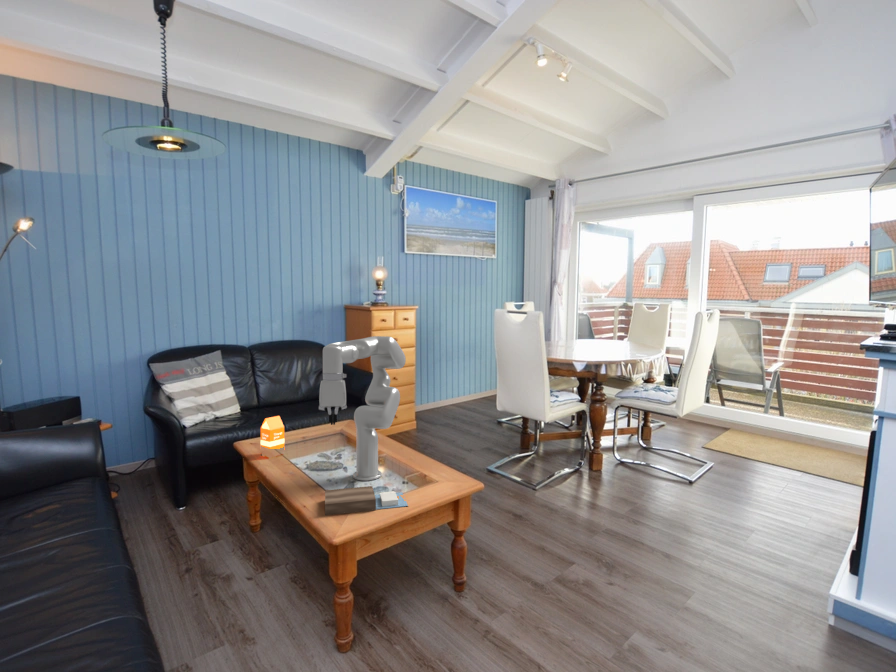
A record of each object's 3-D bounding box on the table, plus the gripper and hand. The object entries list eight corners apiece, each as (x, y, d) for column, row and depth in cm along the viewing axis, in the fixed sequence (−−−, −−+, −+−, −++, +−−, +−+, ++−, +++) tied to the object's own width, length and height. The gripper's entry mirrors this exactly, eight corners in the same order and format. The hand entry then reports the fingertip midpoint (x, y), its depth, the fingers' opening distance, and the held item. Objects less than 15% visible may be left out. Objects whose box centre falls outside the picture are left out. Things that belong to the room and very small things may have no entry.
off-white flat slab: (395, 491, 180) (395, 496, 180) (379, 492, 178) (379, 497, 178) (398, 499, 171) (398, 505, 171) (382, 501, 169) (382, 506, 169)
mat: (372, 495, 181) (372, 494, 181) (402, 492, 184) (402, 492, 184) (375, 509, 167) (375, 508, 167) (407, 506, 170) (407, 505, 170)
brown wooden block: (325, 500, 176) (325, 490, 176) (372, 496, 180) (372, 486, 180) (325, 515, 162) (324, 504, 162) (375, 510, 167) (375, 499, 167)
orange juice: (284, 454, 237) (284, 416, 236) (270, 458, 229) (269, 419, 228) (275, 452, 241) (274, 414, 240) (260, 456, 233) (260, 417, 233)
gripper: (351, 375, 183) (352, 421, 183) (313, 376, 179) (313, 423, 179) (352, 377, 175) (353, 425, 176) (312, 379, 172) (312, 427, 172)
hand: (332, 424), depth 178 cm, fingers closed
